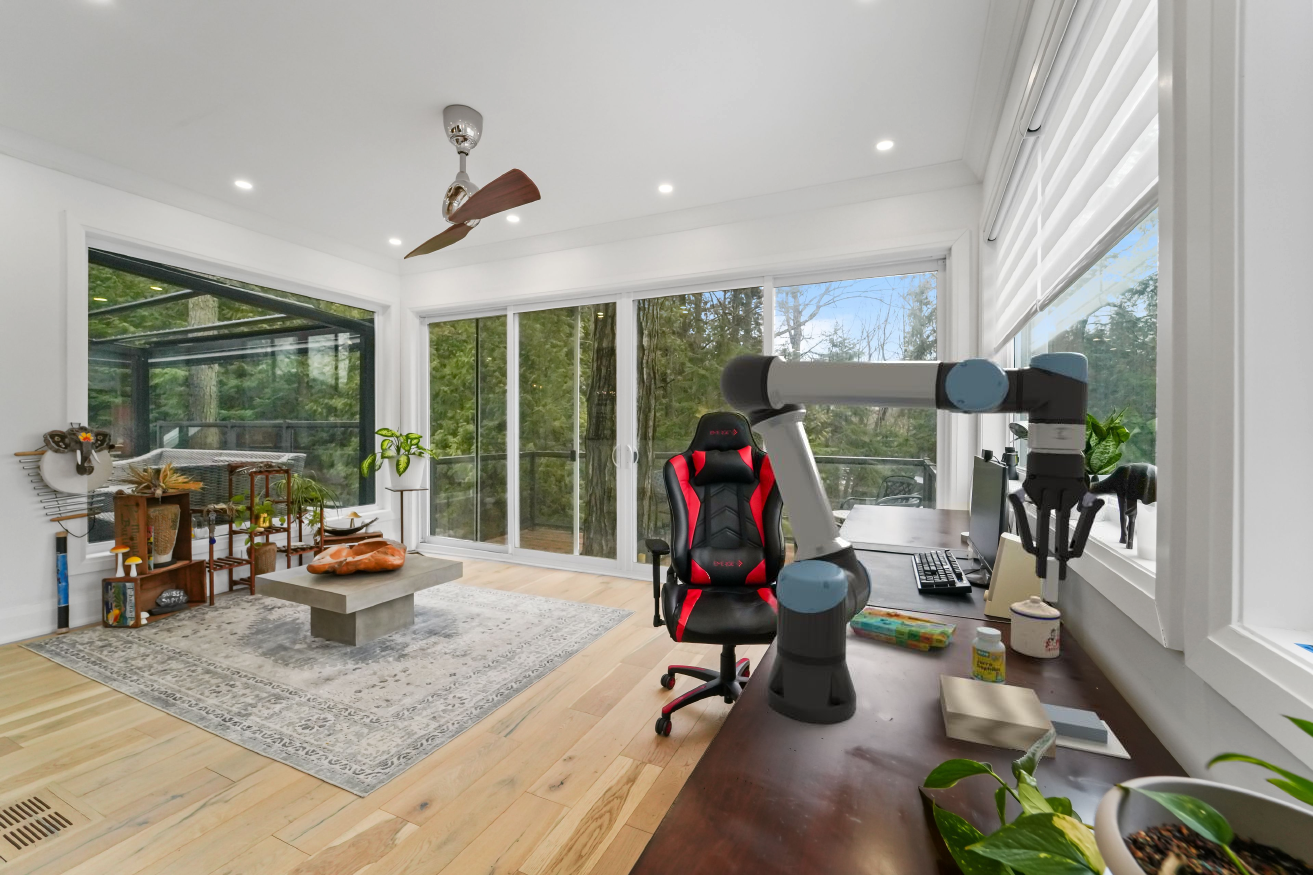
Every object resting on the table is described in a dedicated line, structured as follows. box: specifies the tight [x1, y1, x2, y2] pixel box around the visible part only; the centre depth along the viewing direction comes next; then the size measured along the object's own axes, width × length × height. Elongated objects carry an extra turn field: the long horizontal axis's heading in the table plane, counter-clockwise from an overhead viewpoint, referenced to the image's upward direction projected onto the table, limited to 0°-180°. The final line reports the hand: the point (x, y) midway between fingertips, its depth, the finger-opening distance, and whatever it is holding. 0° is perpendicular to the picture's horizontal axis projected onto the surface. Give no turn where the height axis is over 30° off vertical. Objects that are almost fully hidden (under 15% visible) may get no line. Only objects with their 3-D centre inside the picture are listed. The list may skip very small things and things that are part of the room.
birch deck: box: [939, 674, 1057, 759], centre depth 90 cm, size 14×14×4 cm
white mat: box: [1056, 720, 1132, 760], centre depth 88 cm, size 10×11×1 cm
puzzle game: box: [849, 606, 957, 652], centre depth 127 cm, size 12×5×20 cm
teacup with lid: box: [1009, 595, 1062, 659], centre depth 121 cm, size 12×9×12 cm
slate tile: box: [1040, 702, 1108, 744], centre depth 88 cm, size 8×6×2 cm
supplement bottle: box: [971, 626, 1006, 685], centre depth 106 cm, size 5×5×10 cm
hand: (1049, 599), depth 89 cm, fingers closed
